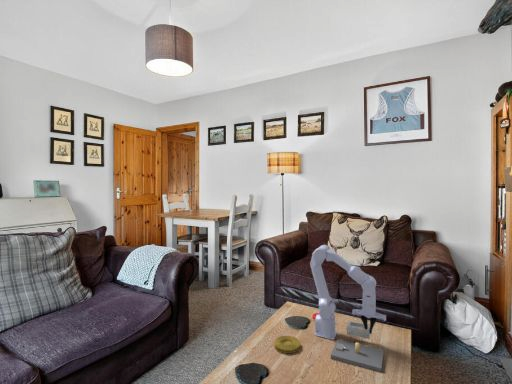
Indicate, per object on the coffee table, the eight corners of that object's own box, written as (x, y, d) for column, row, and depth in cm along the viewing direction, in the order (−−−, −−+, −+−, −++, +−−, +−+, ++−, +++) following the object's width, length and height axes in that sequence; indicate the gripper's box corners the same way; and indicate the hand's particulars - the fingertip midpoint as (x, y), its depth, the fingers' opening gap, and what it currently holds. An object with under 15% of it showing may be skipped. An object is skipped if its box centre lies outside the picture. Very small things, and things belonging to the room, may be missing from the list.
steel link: (346, 334, 135) (346, 325, 135) (349, 328, 140) (348, 320, 140) (369, 338, 130) (369, 330, 130) (370, 332, 136) (370, 324, 136)
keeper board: (330, 358, 123) (330, 345, 123) (337, 342, 136) (337, 330, 136) (381, 372, 114) (381, 358, 114) (383, 353, 126) (383, 341, 126)
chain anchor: (335, 349, 127) (335, 347, 127) (337, 345, 131) (337, 342, 131) (347, 352, 125) (347, 350, 125) (349, 347, 128) (349, 345, 128)
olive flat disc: (305, 351, 129) (305, 346, 129) (281, 357, 125) (281, 352, 125) (292, 338, 140) (292, 333, 140) (270, 343, 136) (270, 338, 136)
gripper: (351, 303, 133) (351, 332, 133) (385, 309, 126) (385, 340, 127) (353, 298, 139) (353, 325, 139) (386, 303, 132) (386, 332, 133)
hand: (368, 332), depth 133 cm, fingers closed on steel link
